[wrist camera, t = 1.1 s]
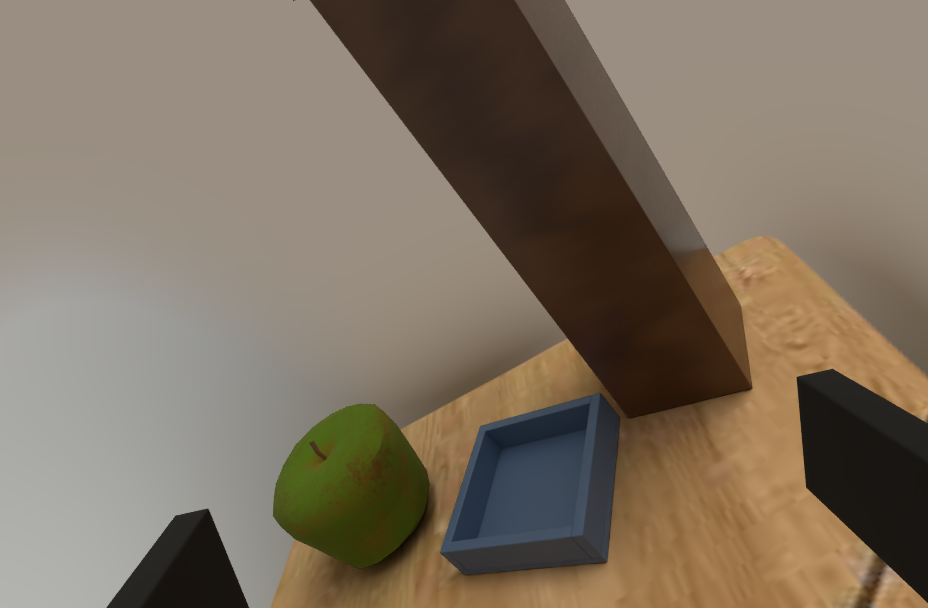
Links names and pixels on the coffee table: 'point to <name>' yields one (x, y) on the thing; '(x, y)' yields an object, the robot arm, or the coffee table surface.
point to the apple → (352, 487)
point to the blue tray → (537, 491)
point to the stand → (559, 185)
